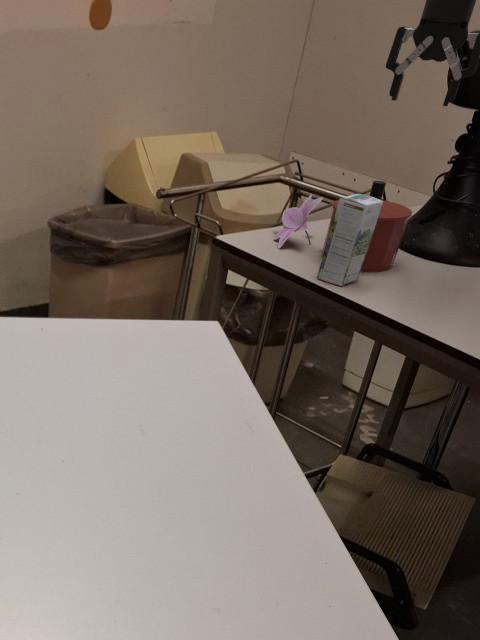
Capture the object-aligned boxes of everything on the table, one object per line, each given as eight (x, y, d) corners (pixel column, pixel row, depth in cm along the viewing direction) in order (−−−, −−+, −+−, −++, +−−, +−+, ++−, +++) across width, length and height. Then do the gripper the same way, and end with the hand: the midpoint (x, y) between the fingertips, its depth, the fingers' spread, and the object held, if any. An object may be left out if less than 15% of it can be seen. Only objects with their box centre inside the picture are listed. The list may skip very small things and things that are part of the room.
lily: (281, 237, 185) (270, 197, 178) (336, 223, 178) (328, 181, 171) (270, 270, 179) (259, 229, 173) (327, 257, 172) (318, 214, 166)
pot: (404, 256, 173) (420, 207, 167) (376, 280, 161) (393, 227, 155) (338, 243, 179) (352, 195, 173) (306, 265, 167) (320, 213, 161)
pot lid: (419, 212, 166) (429, 181, 162) (397, 228, 156) (408, 196, 153) (345, 199, 172) (353, 169, 168) (320, 214, 163) (328, 182, 159)
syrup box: (332, 273, 164) (355, 192, 154) (358, 281, 160) (384, 199, 151) (315, 278, 161) (338, 196, 151) (342, 287, 157) (367, 203, 148)
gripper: (406, -17, 134) (373, 101, 145) (501, -12, 129) (460, 110, 140) (412, -19, 139) (380, 95, 150) (505, -14, 134) (465, 104, 145)
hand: (419, 102), depth 145 cm, fingers open, 8 cm apart
